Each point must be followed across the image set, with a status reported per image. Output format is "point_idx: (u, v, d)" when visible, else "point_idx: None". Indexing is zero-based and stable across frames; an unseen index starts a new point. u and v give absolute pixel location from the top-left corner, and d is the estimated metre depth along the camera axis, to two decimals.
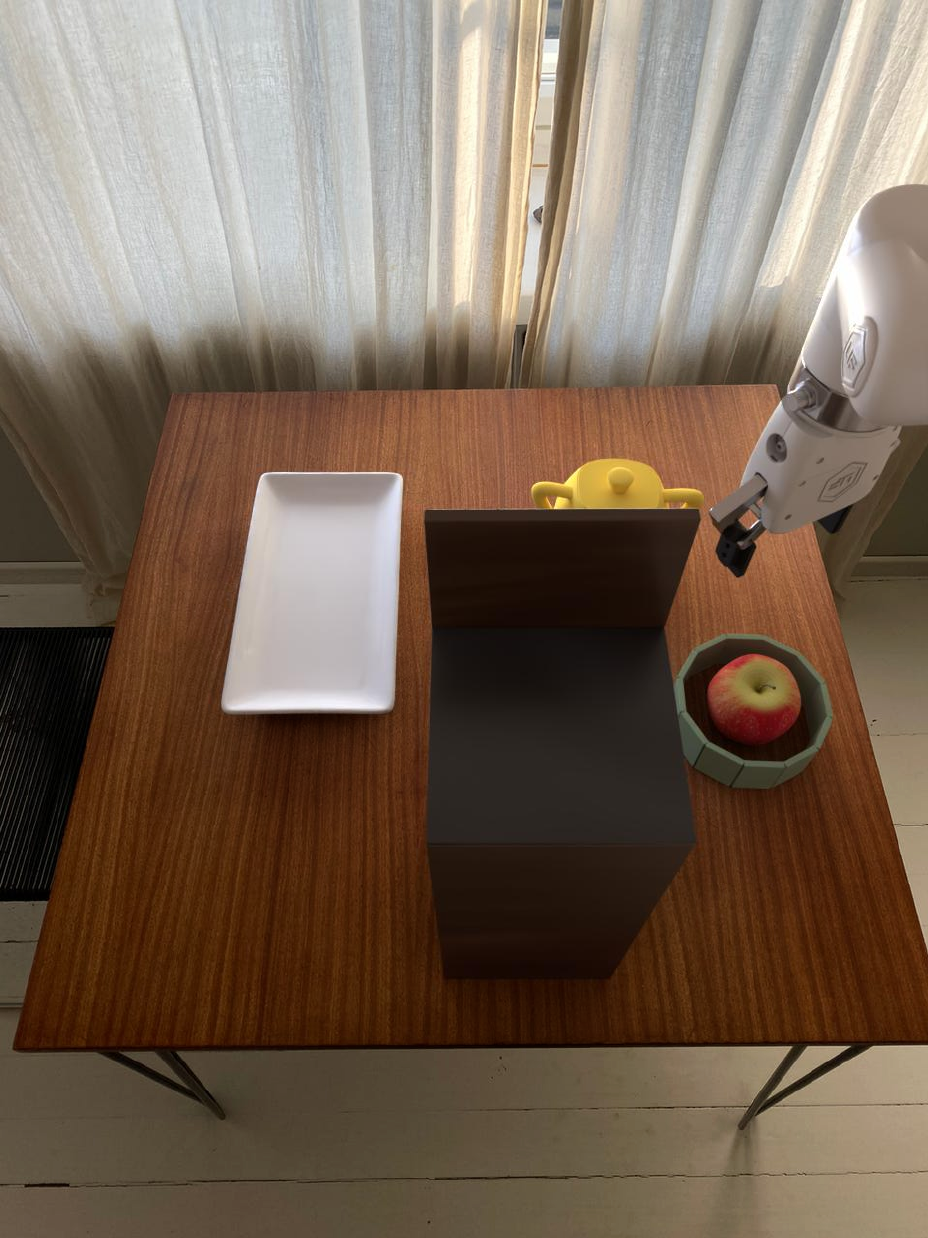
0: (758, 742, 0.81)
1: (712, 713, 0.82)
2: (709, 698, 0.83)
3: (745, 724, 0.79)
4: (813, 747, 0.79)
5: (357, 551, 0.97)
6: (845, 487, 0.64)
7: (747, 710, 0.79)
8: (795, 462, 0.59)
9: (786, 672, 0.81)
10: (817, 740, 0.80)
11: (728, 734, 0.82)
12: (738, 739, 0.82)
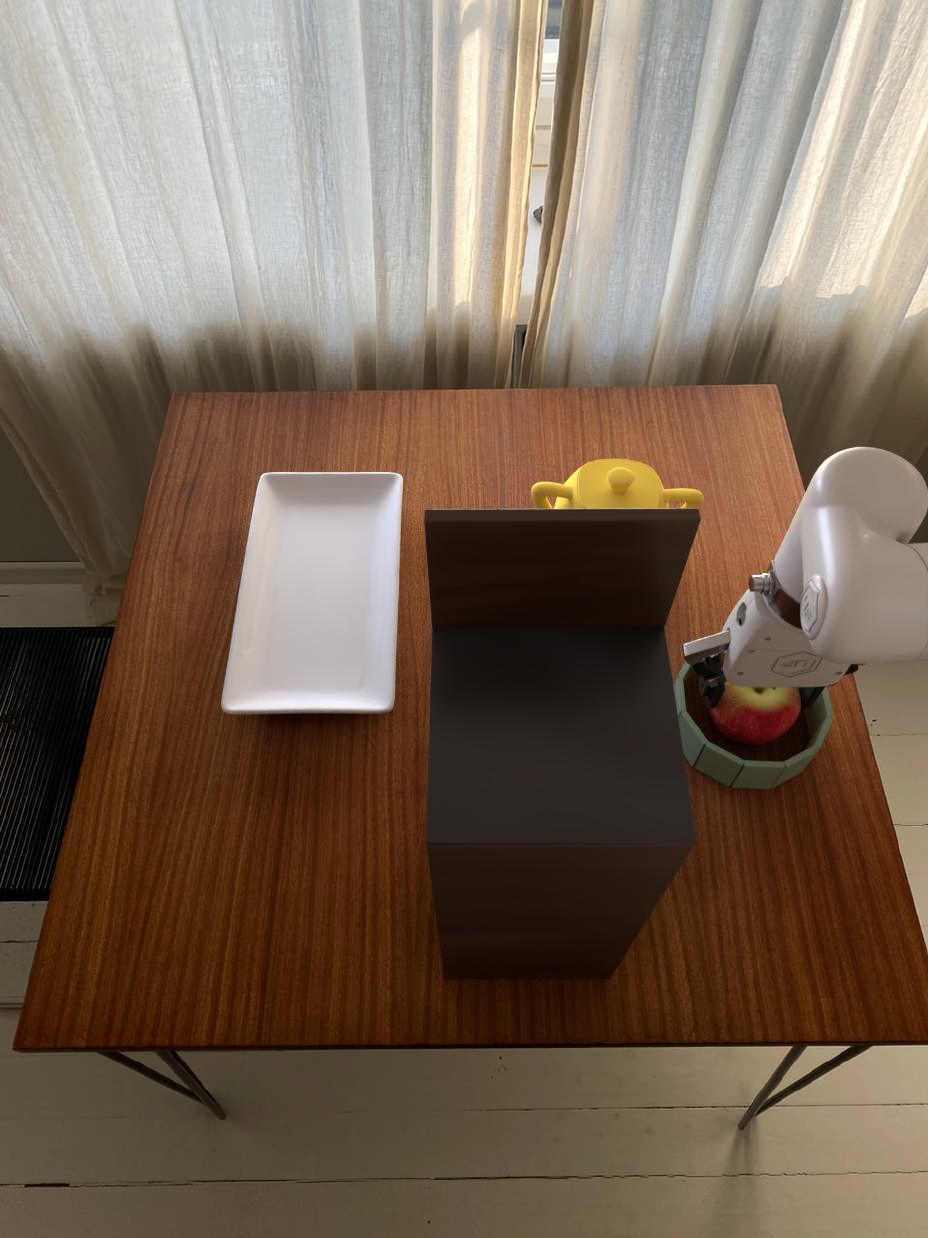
0: (758, 742, 0.81)
1: (712, 713, 0.82)
2: None
3: (745, 724, 0.79)
4: (813, 747, 0.79)
5: (356, 551, 0.97)
6: (802, 670, 0.73)
7: (746, 710, 0.79)
8: (747, 632, 0.70)
9: None
10: (817, 740, 0.80)
11: (728, 734, 0.82)
12: (738, 739, 0.82)
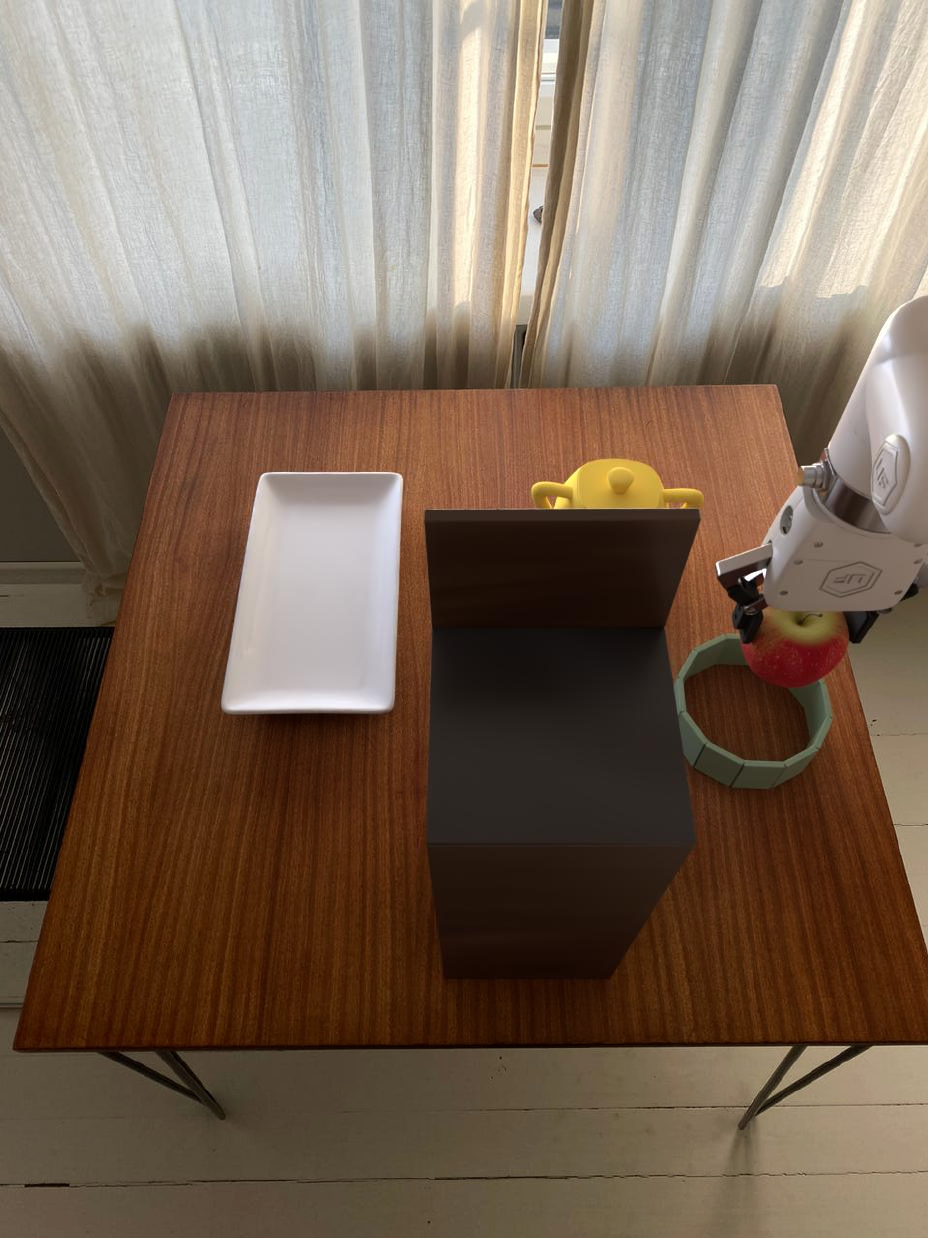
0: (800, 682, 0.71)
1: (747, 650, 0.72)
2: None
3: (786, 660, 0.69)
4: (813, 747, 0.79)
5: (356, 551, 0.97)
6: (856, 588, 0.62)
7: (788, 643, 0.69)
8: (794, 538, 0.59)
9: None
10: (817, 740, 0.80)
11: (765, 674, 0.72)
12: (777, 679, 0.71)
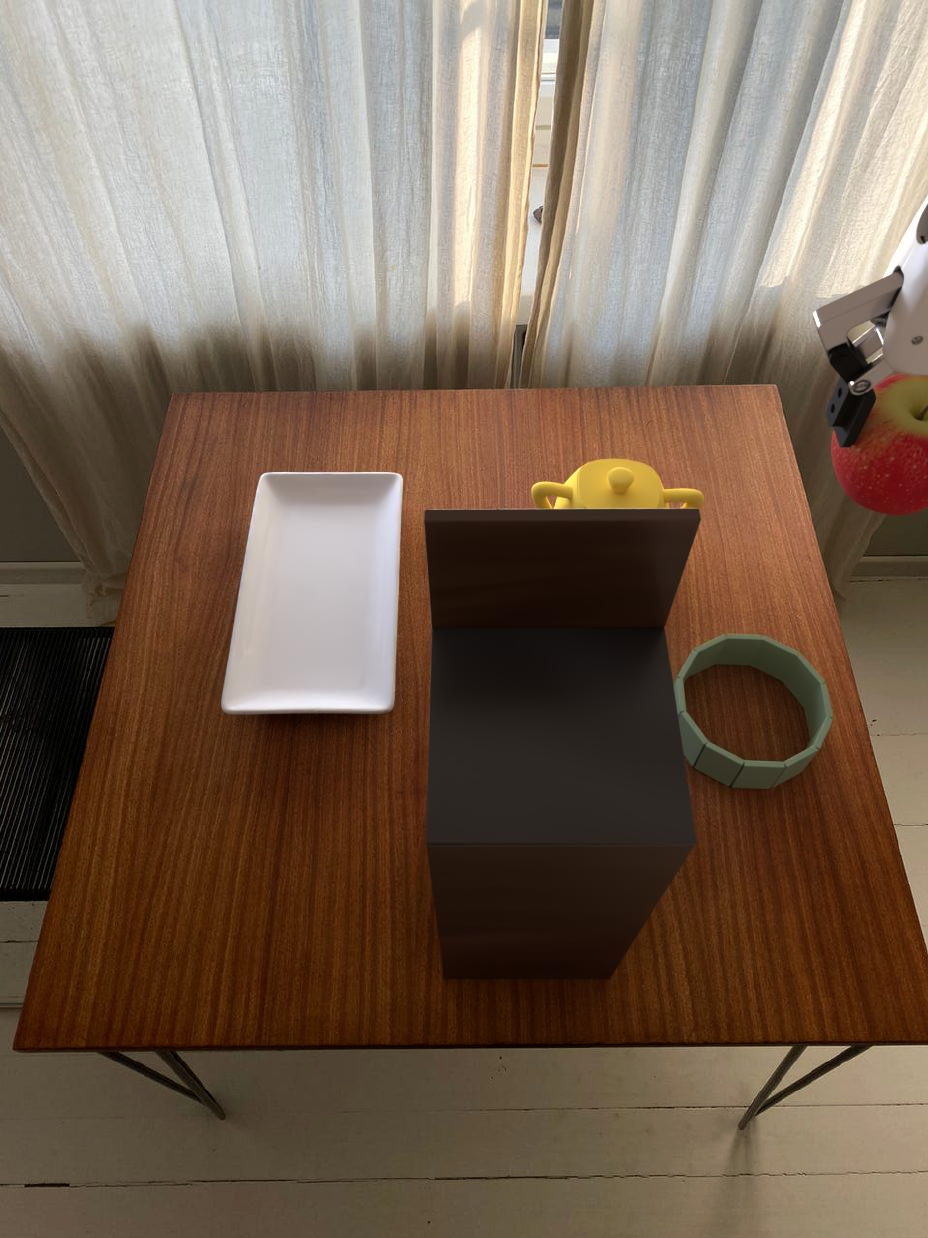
0: (920, 498, 0.52)
1: (844, 461, 0.53)
2: None
3: (904, 462, 0.50)
4: (813, 747, 0.79)
5: (357, 551, 0.97)
6: None
7: (908, 438, 0.50)
8: None
9: None
10: (817, 740, 0.80)
11: (870, 491, 0.53)
12: (886, 498, 0.53)
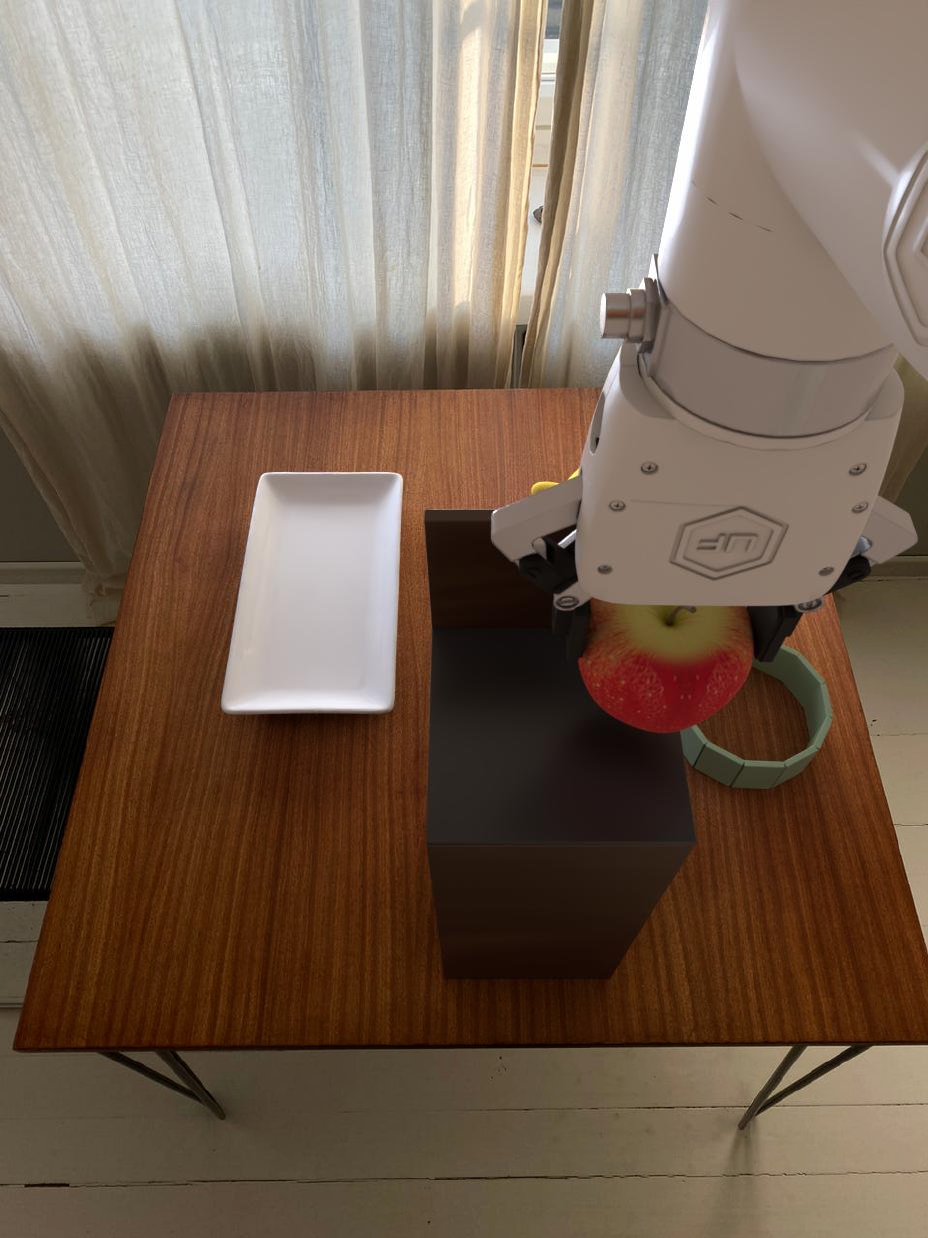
0: (667, 726, 0.40)
1: (581, 668, 0.42)
2: None
3: (637, 688, 0.39)
4: (813, 747, 0.79)
5: (356, 551, 0.97)
6: (743, 561, 0.32)
7: (640, 658, 0.38)
8: (605, 455, 0.29)
9: None
10: (817, 740, 0.80)
11: (611, 710, 0.41)
12: (630, 720, 0.41)
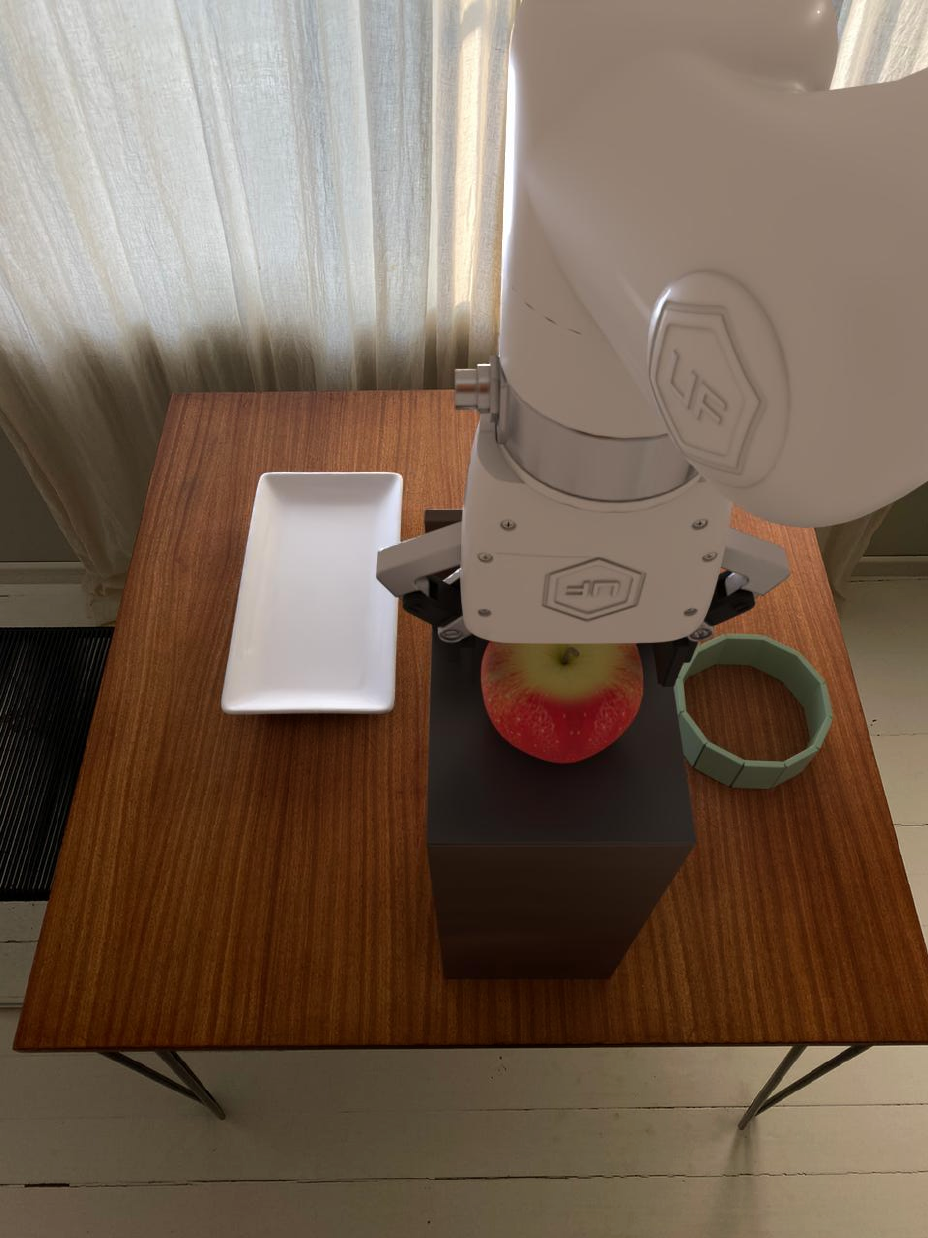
0: (563, 758, 0.43)
1: (485, 704, 0.45)
2: (481, 677, 0.45)
3: (530, 725, 0.42)
4: (813, 747, 0.79)
5: (356, 551, 0.97)
6: (611, 604, 0.34)
7: (533, 697, 0.41)
8: (470, 513, 0.31)
9: None
10: (817, 740, 0.80)
11: (513, 743, 0.44)
12: (530, 752, 0.44)
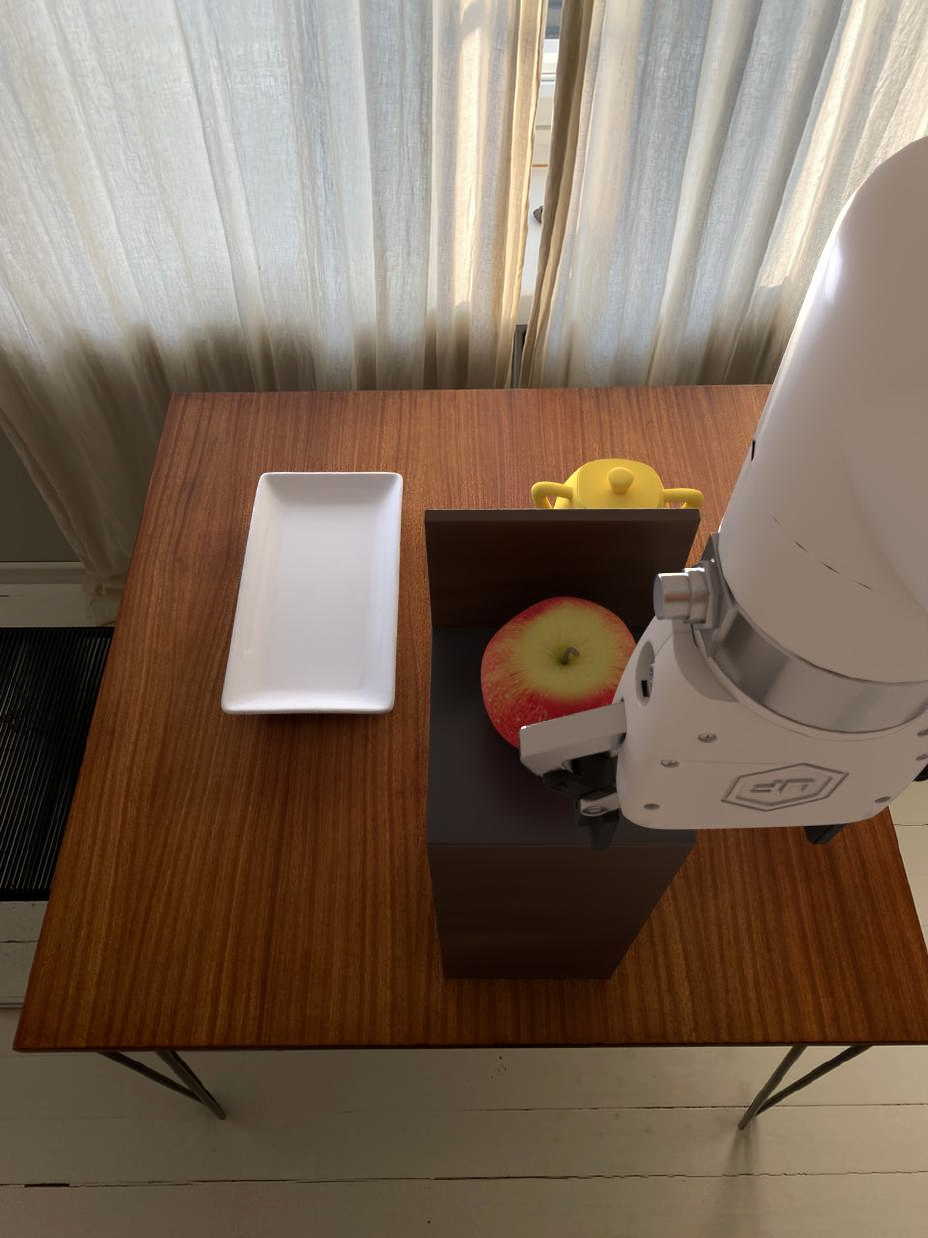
0: None
1: (485, 704, 0.45)
2: None
3: None
4: None
5: (356, 551, 0.97)
6: (798, 797, 0.30)
7: (532, 697, 0.41)
8: (658, 719, 0.27)
9: (617, 628, 0.44)
10: None
11: (513, 743, 0.44)
12: None
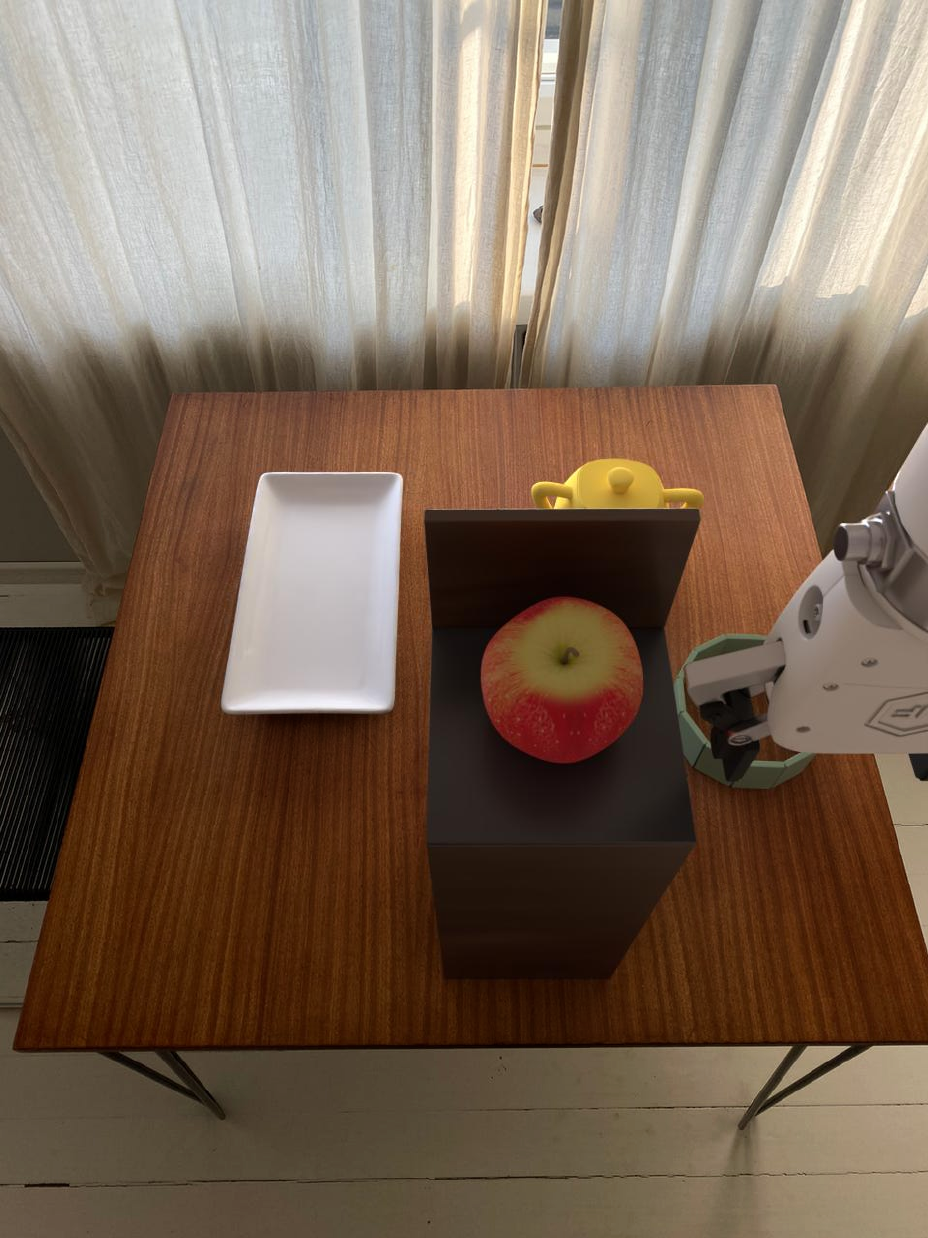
0: (563, 758, 0.43)
1: (485, 704, 0.45)
2: None
3: (530, 725, 0.42)
4: None
5: (356, 551, 0.97)
6: None
7: (532, 697, 0.41)
8: (825, 648, 0.33)
9: (617, 628, 0.44)
10: None
11: (513, 743, 0.44)
12: (530, 752, 0.44)
